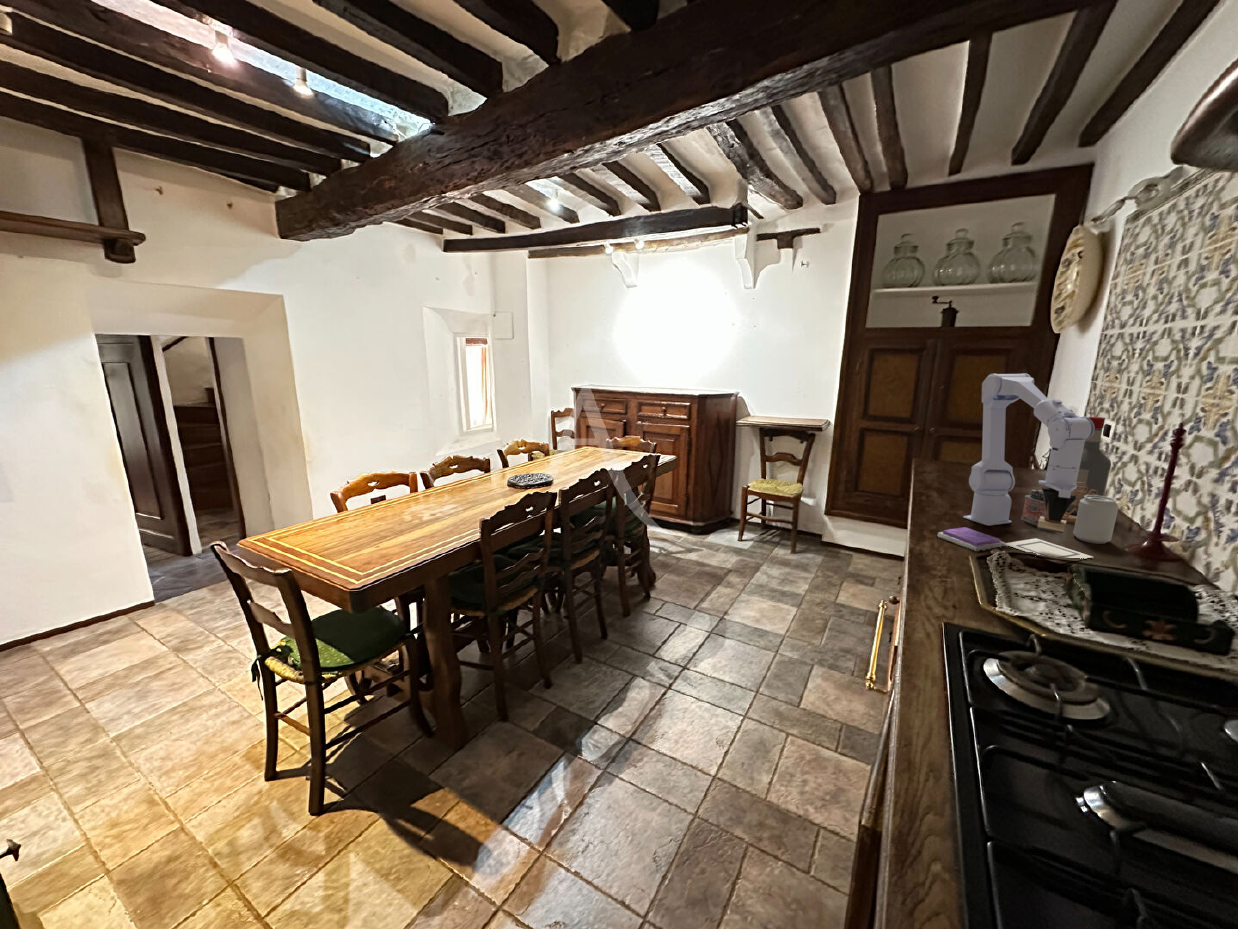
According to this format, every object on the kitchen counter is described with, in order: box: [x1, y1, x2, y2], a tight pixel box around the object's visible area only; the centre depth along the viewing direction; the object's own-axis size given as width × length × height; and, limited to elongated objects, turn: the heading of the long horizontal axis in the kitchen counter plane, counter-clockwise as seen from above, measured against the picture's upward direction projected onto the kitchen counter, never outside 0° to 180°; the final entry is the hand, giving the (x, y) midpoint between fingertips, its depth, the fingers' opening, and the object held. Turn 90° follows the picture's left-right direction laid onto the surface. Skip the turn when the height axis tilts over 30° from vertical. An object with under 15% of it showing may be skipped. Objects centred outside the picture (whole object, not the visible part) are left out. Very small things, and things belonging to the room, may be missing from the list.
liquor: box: [1066, 416, 1112, 515], centre depth 151 cm, size 9×9×30 cm
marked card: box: [1004, 537, 1094, 560], centre depth 123 cm, size 12×13×1 cm
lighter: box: [1020, 489, 1046, 526], centre depth 143 cm, size 8×3×10 cm, turn 5°
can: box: [1072, 495, 1120, 545], centre depth 129 cm, size 8×8×12 cm
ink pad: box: [937, 526, 1006, 552], centre depth 130 cm, size 10×11×2 cm
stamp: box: [1036, 503, 1067, 534], centre depth 121 cm, size 5×5×7 cm
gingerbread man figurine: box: [1062, 482, 1098, 523], centre depth 144 cm, size 9×4×12 cm, turn 51°
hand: (1053, 518), depth 121 cm, fingers closed on stamp, 3 cm apart
